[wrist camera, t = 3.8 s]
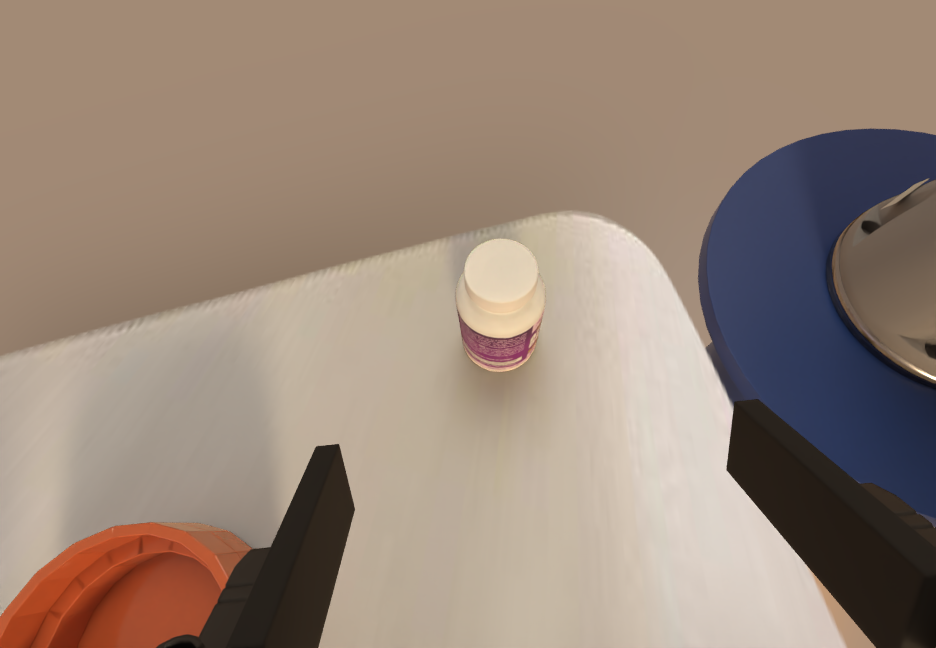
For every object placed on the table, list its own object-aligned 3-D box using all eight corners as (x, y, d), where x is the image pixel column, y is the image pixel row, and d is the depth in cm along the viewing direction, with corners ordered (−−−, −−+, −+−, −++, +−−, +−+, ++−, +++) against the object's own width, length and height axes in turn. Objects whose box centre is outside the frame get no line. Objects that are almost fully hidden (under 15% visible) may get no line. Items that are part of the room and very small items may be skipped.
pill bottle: (545, 366, 32) (563, 305, 24) (469, 380, 32) (460, 324, 23) (527, 297, 35) (538, 219, 26) (456, 311, 34) (443, 236, 26)
